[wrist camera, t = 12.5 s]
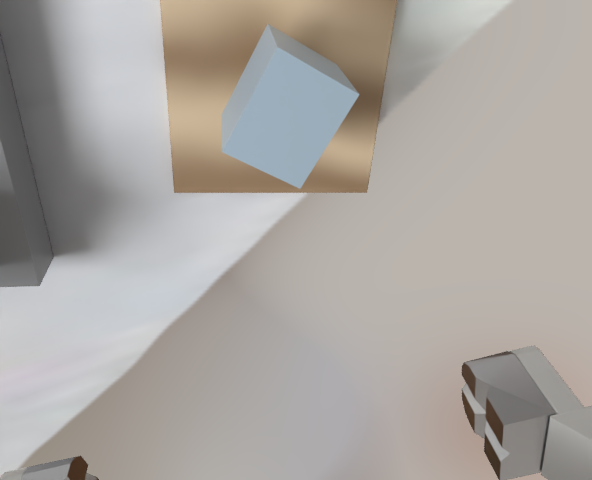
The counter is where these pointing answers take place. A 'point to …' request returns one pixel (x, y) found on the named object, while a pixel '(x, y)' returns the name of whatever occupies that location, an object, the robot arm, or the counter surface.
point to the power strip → (18, 198)
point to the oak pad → (230, 65)
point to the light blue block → (285, 108)
